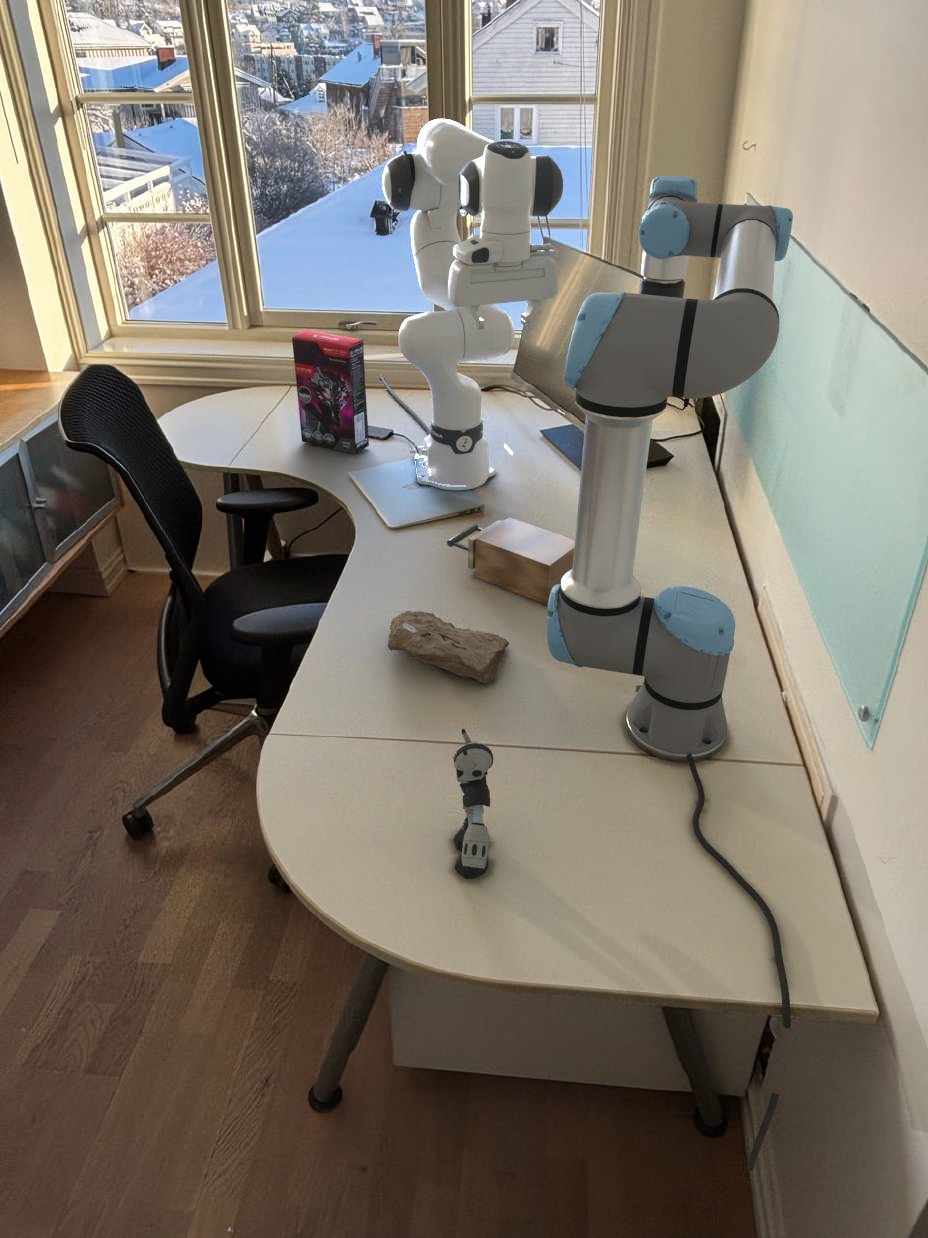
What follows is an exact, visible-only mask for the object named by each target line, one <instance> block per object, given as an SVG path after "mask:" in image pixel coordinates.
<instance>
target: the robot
mask: <svg viewBox="0 0 928 1238" xmlns="http://www.w3.org/2000/svg"><path fill="white" fill-rule="evenodd" d="M461 734H462V737H463V739H464V742H465V744H463V745H461V746H460V747H459V748H458V749H457V750H456V751H455V753H454V756H453V757H452V760H453V768H455V772H456V774H455V775H456V781H457V782H458V783H459V786H460V789H461V791H462V793H463V794H462V809H464V812H465V814H466V817H465V818H464V821H463V823H462V826H461V827H460V829H459V830H458V831H457V833H456V834H455V835H454V837H453V838H452V841H453V843H454V846H455V847H456V849H457V850H459V851H460V853H459V855H458V858H457V859H456V863H455V865H454V870H455V871H456V872H457V873H458V874H459V875H460V876H461V877H464V878H468V879H472V878H477V877H479V876H481V875H483V874H486V873H487V872H488V867H489V863H490V862H489V848H490V834H489V831H488V826H486V824H485V823H484V818H483V817H484V816H483V815H484V813H485V812H484V810H485V809H484V806H485V807H487V808H491V792H490V788H489V785H488V784H487V775H488V771H489V769H491V768H492V766H493V764H494V755H493V751H492V750H491V749H490V747H488V746H487V745H486V744H484V743H482V742H479V741H476V740H475V741H472V740H471V738H470V736H469V735H468V733H467V730H466V729H465V728H462V729H461Z"/></svg>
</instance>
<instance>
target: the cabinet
mask: <svg viewBox="0 0 928 1238" xmlns="http://www.w3.org/2000/svg"><path fill="white" fill-rule="evenodd" d="M501 521H502V522H501V523H499V524H498V525H496V526H495V527H493V528H492V529H490V530H488V531H487V532H485V533H484V534H482V535H481V536H479V537H478V538H476V556H475V568H474V572H475V573H474V576H475V578H477V579H479V580H482V581H485V582H487V583H490V584H492V585H495V586H497V587H500V588H501V589H506V590H507V591H510V592H512V593H515V594H517V595H519V596H523V597H525V598H528V599H530V600H532V601H535V602H538V603H540V604H542V605H545V606H548V601H549V596H550V593H551V590H552V588H553V587H554V586H555V585H557V584H561V579H562V577H563V576H564V575H565V574H566V573H567V572H568V571H570V570H572V568H573V557H574V546H575V538H574V539H573V538H571V537H568V536H565V535H562V534H560V533H557V532H554V531H551V530H548V529H545V528H542V527H539V526H536V525H534V524H531V523H528V522H524V521H522V520H519V519H516V518H513V517H511V516H509V517H507V518H505V519H503V520H501Z"/></svg>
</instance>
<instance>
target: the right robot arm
mask: <svg viewBox="0 0 928 1238" xmlns="http://www.w3.org/2000/svg"><path fill="white" fill-rule="evenodd" d="M698 186H699V183H698V181H697V180H696V179H695V178H693V177H690V176H686V175H685V176H683V175H660V176H656V177H654V178H653V179H652V180H651V183H650V188H649V194H648V197H647V198H648V204H647V210H646V211H645V212H644V214H643V215H642V217H641V219H640V223H639V228H638V240H639V244H640V246H641V248H642V257H641V266H640V267H641V270H640V275H641V276H642V278H641V279H639V285H638V286H639V287H638V293H634V292H626V291H620V292H593V293H591V294H590V295H588V296H587V297H586V298H585V299H584V301H583V302H582V304H581V306H580V308H579V311H578V313H577V315H576V316H577V317H576V319H575V322H574V326H573V330H572V334H571V337H570V342H569V345H568V350H567V355H566V360H565V366H564V372H563V373H564V376H563V377H564V378H563V383H564V385H565V386H566V387H568V388H569V389H573V390H574V389H575V399H574V400H575V402H574V403H575V405H576V407H577V408H578V409H579V410H580V411H581V412H582V413H583V414H584V415H585V422H584V431H583V432H584V434H583V445H582V456H581V467H580V476H579V477H580V479H579V490H578V499H577V500H578V502H577V513H576V524H575V535H574V540H575V546H574V557H573V568H572V570H570V571H568V572H567V573H566V574H565V575H564V576H563V577H562V579H561V584H557V585H555V586H554V587H553V588H552V590H551V593H550V596H549V601H548V605H547V617H546V641H547V646H548V650H549V653H550V655H551V656H552V658H554V659H555V660H556V661H558V662H560V663H564V664H567V665H568V664H569V665H573V666H575V667H577V668H583V667H584V668H588V669H589V668H591V669H596V670H602V671H607V672H608V671H609V672H614V673H620V674H627V675H633V676H638V677H639V676H640V677H643V682H642V684H641V685H639V684H638V685H637V684H636V685H635V691H634V692H635V693H636V694H635V695H634V697H633V699H632V701H631V702H630V704H629V706H628V708H627V711H626V719H625V728H626V732H627V734H628V736H629V738H630V739H631V741H632V742H634V744H636V745H637V746H638V747H639V748H640V749H641V750H643V751H645V752H646V753H648V754H650V755H651V756H654V757H656V758H659V759H662V760H666V761H670V762H675V763H688V766H689V769H690V772H691V775H692V778H693V781H694V783H695V785H696V789H697V795H698V797H697V802H696V806H695V810H694V812H693V816H692V829H693V833H694V835H695V837H696V838H697V841H698V842H699V844H700V845H701V846H702V848H704V849H705V850H706V852H707V853H708V854H709V855H711V856H712V858H714V859H715V860H716V861H717V862H718V863H719V864H720V865H721V867H723V868H724V869H725V870H726V872H728V874H729V875H730V876H731V877H732V878H733V879H734V880H735V881H736V882H737V883H738V885H740V886H741V887H742V888H743V890H745V892H747V894H749V896H750V897H752V899H753V900H754V902H756V903H757V905H758V907H759V908H760V909H761V911H762V913H763V914H764V916H765V918H766V921H767V923H768V925H769V928H770V932H771V938H772V944H773V952H774V959H775V964H776V969H777V975H778V981H779V986H780V994H781V1009H782V1010H781V1011H782V1012H781V1013H782V1016H781V1017H782V1026H783V1027H784V1029H786V1030H787V1029H788V1030H790V1029H791V1025H792V1024H791V1021H792V1018H791V1014H792V1013H791V999H790V990H789V989H790V988H789V983H788V978H787V977H788V976H787V973H786V968H785V963H784V957H783V950H782V943H781V937H780V932H779V927H778V925H777V922H776V919H775V917H774V914H773V913H772V911H771V909H770V907H769V906H768V904H767V902H765V900H764V899H763V897H762V896H761V894H759V893H758V892H757V890H756V889H755V888H754V887H752V885H751V884H750V883H749V882H748V881H747V880H746V879H745V878H743V876H742V875H741V874H740V873H739V872H738V871H737V870H736V869H735V867H734V866H733V865H732V864H730V862H729V861H728V860H727V859H726V858H724V857H723V855H722V854H720V853H719V852H718V851H717V850H716V849H715V848H714V847H713V846H712V845H711V844H710V843H709V842H708V840H707V839H706V838H705V836H704V835H703V833H702V831H701V828H700V817H701V814H702V811H703V809H704V805H705V801H706V800H705V799H706V797H705V789H704V785H703V782H702V780H701V778H700V775H699V772H698V769H697V766H696V763H695V762H700V761H703V760H706V759H709V758H711V757H714V755H716V754H718V752H720V751H721V750H722V748H723V747H724V744H725V743H726V740H727V739H726V738H727V733H728V721H727V716H726V712H725V708H724V707H725V706H724V701H723V692H724V686H725V682H726V678H727V677H726V676H727V671H728V666H729V661H730V657H731V652H732V651H733V650H734V646H735V638H734V637H735V631H736V620H735V616H734V614H733V612H732V610H731V608H730V607H729V606H728V605H727V604H726V603H724V602H723V601H722V600H721V599H720V598H719V597H717V596H716V595H714V594H712V593H710V592H708V591H706V590H704V589H700V588H697V587H696V588H695V587H692V586H688V585H687V586H686V585H675V586H674V587H670V586H669V587H666V588H664V589H662V590H660V591H659V592H658V593H657V595H656V596H655V597H654V598H653V597H649V596H648V597H647V596H642V585H641V583H640V581H639V580H638V578H637V577H636V576H635V575H634V567H635V559H636V552H637V551H636V550H637V544H638V535H639V528H640V521H641V513H642V506H643V499H644V498H643V497H644V491H645V489H644V488H645V482H646V475H647V466H648V460H649V459H648V458H649V451H650V444H651V435H652V429H653V428H652V427H653V421H654V420H655V419H657V417H659V416H660V415H662V414H663V413H664V412H665V411H666V410H667V406H668V405H667V404H668V398H680V399H681V398H682V399H683V407H684V408H688V407H689V402H690V400H694V399H705V398H711V397H715V396H719V395H722V394H725V393H726V392H729V391H731V390H733V389H734V388H737V387H738V386H740V385H741V384H743V383H745V382H746V381H748V380H750V379H751V378H752V376H754V375H755V374H756V373H757V372H758V371H759V370H760V369H761V368H762V367H763V366H764V365H765V363H766V362H767V361H768V360H769V358H770V357H771V356H772V353H773V351H774V349H775V348H776V345H777V343H778V339H779V334H780V313H779V310H778V307H777V305H776V303H775V302H774V300H773V298H774V297H773V296H774V279H775V278H774V277H775V264H776V262H780V261H783V260H784V259H785V258H786V255H787V253H788V249H789V244H790V239H791V234H792V228H793V220H794V213H793V211H792V210H791V209H790V208H787V207H781V206H774V205H772V204H768V205H767V204H766V205H757V204H756V205H755V204H753V205H752V204H735V203H734V204H733V203H732V204H729V203H712V202H698V191H699V190H698V189H699V187H698ZM689 257H701V258H717V259H719V262H718V268H717V274H716V281H715V287H714V292H713V296H712V297H713V298H712V299H704V298H689V297H688V298H687V297H686V298H685V297H684V295H685V287H686V282H685V280H684V278H686V277H687V273H688V267H689V266H688V265H689V259H690V258H689ZM779 1098H780V1094H778V1093H775V1092H771V1094H770V1097H769V1101H768V1104H767V1107H766V1110H765V1113H764V1116H763V1119H762V1121H761V1124H760V1127H759V1129H758V1131H757V1134H756V1137H755V1140H754V1143H753V1146H752V1148H751V1150H750V1153H749V1157H748V1160H747V1163H746V1170H747V1171H748V1172H753V1171H754V1168H755V1165H756V1162H757V1160H758V1156H759V1154H760V1150H761V1149H762V1145H763V1143H764V1140H765V1138H766V1136H767V1133H768V1130H769V1127H770V1125H771V1122H772V1119H773V1117H774V1114H775V1112H776V1108H777V1106H778V1105H777V1104H778V1101H779Z"/></svg>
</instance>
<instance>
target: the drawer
mask: <svg viewBox="0 0 928 1238" xmlns="http://www.w3.org/2000/svg"><path fill="white" fill-rule="evenodd" d="M502 521H503V520H501V519H497V520H496V521H493V522H492V523H491V524H489V525H488V526H486V527H485V528H482V527H480V526H479V524H477V523H473V524H472V525H470V526H469V527H467V528H465V529H464V530H463V531H461V532H459V533H457V534H456V535H454V536H453V537H451V538H450V539H447V541H446V545H447V546H448V547H449V548H453V547H456V548H459V549H461V550H463V551H466V552H467V568H468V569H471V570H475V556H476V538H478V537H479V536H481V535H482V534H484V533H485V532H487V531H488V530H490V529H492V528H493V527H495V526H496V525H498V524H499V523H501V522H502ZM474 533H475V534H474ZM469 536H470V537H469ZM468 537H469V538H468ZM467 538H468V540H467V541H468V543H467V545H464V544H462V543H460V542H462V541H463V540H465V539H467Z"/></svg>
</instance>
